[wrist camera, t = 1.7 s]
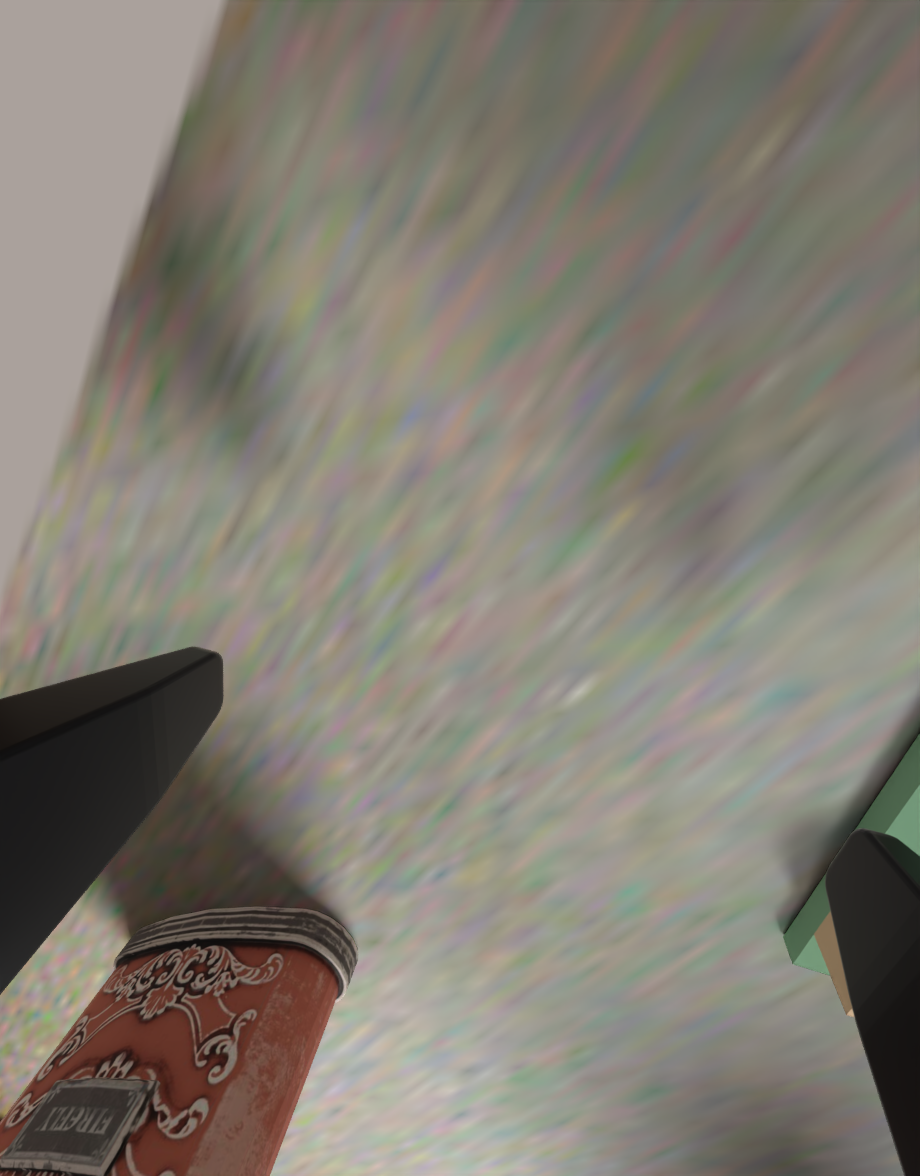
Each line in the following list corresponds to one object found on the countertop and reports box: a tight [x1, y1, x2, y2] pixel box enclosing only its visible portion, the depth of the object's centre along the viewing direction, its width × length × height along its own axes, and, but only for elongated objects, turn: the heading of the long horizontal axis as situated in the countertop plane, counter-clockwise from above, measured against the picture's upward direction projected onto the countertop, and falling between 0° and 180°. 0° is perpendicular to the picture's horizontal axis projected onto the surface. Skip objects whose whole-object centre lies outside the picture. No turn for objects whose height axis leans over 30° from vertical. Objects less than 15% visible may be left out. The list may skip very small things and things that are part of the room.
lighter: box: [0, 907, 358, 1176], centre depth 12 cm, size 8×3×10 cm, turn 112°
